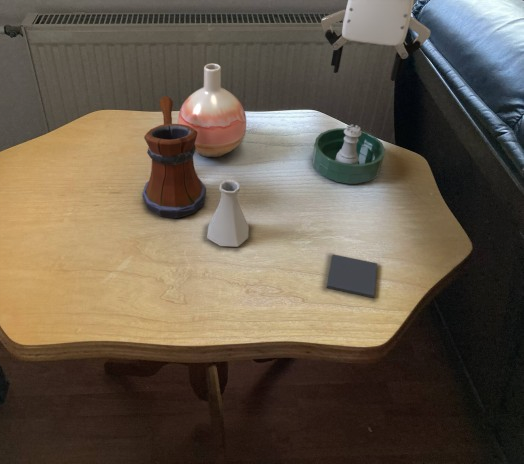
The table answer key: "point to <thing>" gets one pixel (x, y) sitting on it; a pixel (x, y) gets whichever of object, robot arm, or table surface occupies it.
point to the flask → (228, 218)
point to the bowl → (364, 171)
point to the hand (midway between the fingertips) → (364, 73)
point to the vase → (214, 116)
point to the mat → (352, 276)
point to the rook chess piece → (349, 146)
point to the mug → (172, 168)
